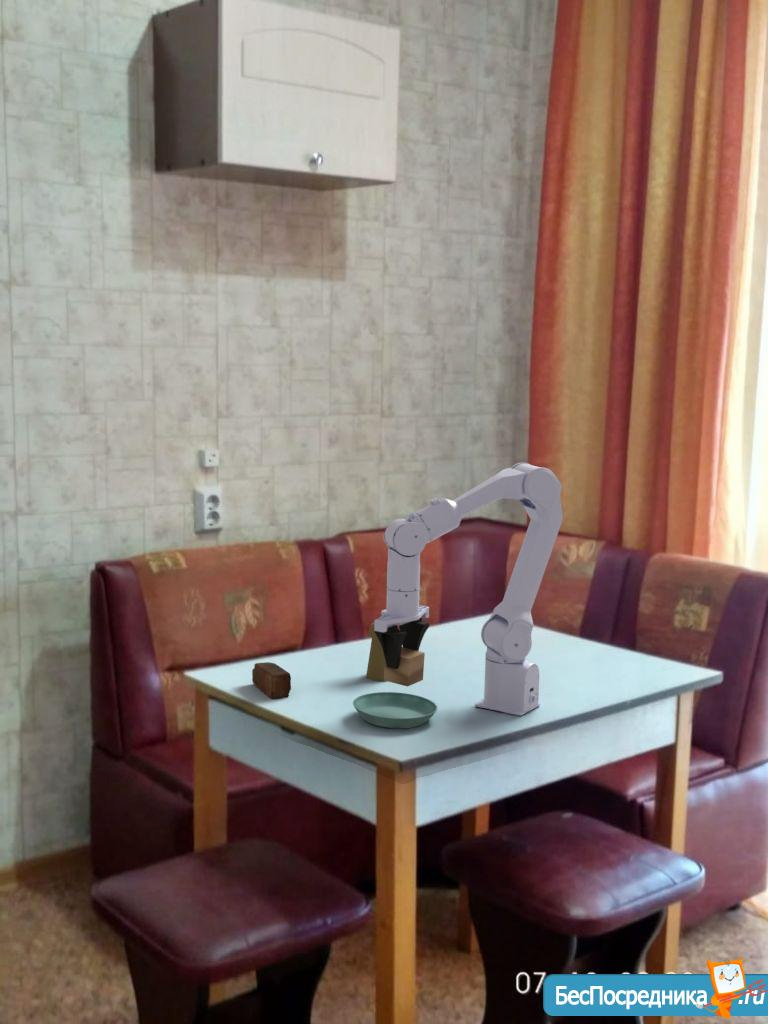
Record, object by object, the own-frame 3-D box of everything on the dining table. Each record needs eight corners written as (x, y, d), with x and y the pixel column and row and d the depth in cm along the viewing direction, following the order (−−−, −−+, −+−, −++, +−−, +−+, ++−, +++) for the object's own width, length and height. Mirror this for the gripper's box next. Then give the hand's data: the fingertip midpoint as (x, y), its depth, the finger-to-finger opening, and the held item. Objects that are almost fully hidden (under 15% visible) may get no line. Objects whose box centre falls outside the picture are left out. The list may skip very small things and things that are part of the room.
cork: (360, 678, 231) (361, 623, 229) (375, 670, 236) (376, 617, 234) (387, 682, 228) (389, 627, 226) (402, 675, 233) (403, 620, 232)
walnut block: (422, 679, 209) (424, 652, 208) (407, 686, 205) (409, 658, 204) (399, 673, 212) (400, 646, 211) (383, 680, 208) (385, 652, 207)
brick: (291, 697, 218) (291, 673, 217) (271, 700, 216) (271, 675, 215) (271, 682, 227) (271, 659, 226) (251, 685, 225) (251, 661, 225)
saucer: (338, 723, 202) (339, 708, 202) (370, 701, 216) (371, 687, 215) (420, 738, 197) (421, 722, 197) (447, 714, 211) (448, 699, 210)
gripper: (406, 579, 214) (404, 652, 216) (360, 592, 202) (358, 669, 204) (439, 584, 210) (437, 658, 212) (394, 597, 198) (392, 676, 200)
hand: (401, 664), depth 208 cm, fingers closed on walnut block, 5 cm apart
